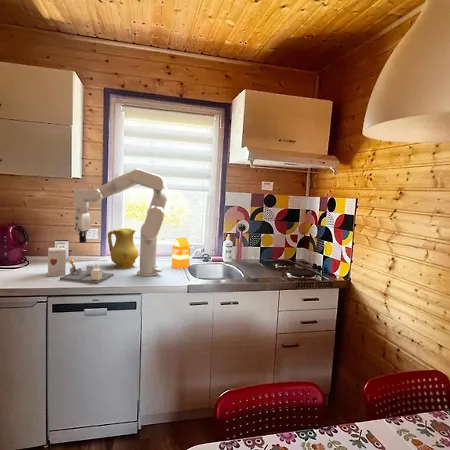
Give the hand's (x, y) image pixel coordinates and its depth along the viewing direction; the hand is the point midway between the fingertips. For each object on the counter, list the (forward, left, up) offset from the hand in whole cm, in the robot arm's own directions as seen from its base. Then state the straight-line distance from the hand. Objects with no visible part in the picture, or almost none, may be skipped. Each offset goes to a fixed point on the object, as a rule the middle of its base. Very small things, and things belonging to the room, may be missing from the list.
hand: (82, 242), depth 198 cm
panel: (-7, +5, -19) cm, 21 cm away
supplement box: (+13, +4, -19) cm, 24 cm away
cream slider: (-15, +11, -17) cm, 25 cm away
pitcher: (-12, -29, -19) cm, 36 cm away
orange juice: (-47, -42, -19) cm, 65 cm away
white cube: (-7, +2, -17) cm, 19 cm away
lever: (+1, +5, -16) cm, 17 cm away
